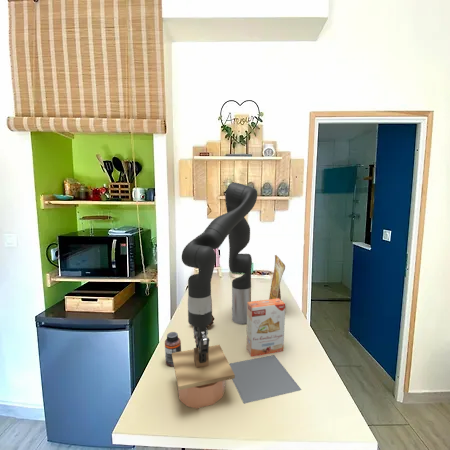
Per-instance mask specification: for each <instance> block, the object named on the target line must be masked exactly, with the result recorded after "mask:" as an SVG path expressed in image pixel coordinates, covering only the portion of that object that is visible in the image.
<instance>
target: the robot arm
mask: <svg viewBox="0 0 450 450" xmlns="http://www.w3.org/2000/svg"><path fill="white" fill-rule="evenodd" d="M224 197H225V198H224V201H225V208H226V213H223V214H221V215H218V216H217V217H216V218H214V219H213V220H211V222H210V223H209V224H208V226H207V227H206V228H205V230H204V231H203V232H202V233H200V234H199V235H197V236H196V237H195V238H193V239H192V240H191V241H189V242H188V243H187V244H186V245H185V247H183V250H182V252H181V262H182V263H183V264H184V265H185V266H186V267H189V268H194V269H198V271H199V272H198V273H195V274H191V275H190V276H189V277H188V278H187V279H188V281H187V292H188V293H187V294H188V296H187V317H188V318H187V321H188V324H189V325H190V326H191V327H193V328H192V329H193V339H195V340H194V343H195V348H198V349H199V350H198V352H199V362H200V363H205V362H206V353H208V349H209V346H210V338H209V337H208V335H209V331H208V330H209V329H208V327H209V326H208V325H209V324H210V323H211V322H212V315H213V300H212V299H213V298H212V284H211V283H212V277H213V273H214V269H215V266H216V263H217V254H216V251H215V250H216V249H218V248H220V247H221V246H222V244H223V243H224V241H225V239H226V238H228V246H229V247H228V249H229V252H228V253H229V254H228V268H229V271H230V272H231V273H232V274H242V275H240V276H237V277H236V278H234V279H233V280H232V281H231V320H232V322H233V323H234V324H239V325H244V324H246V325H247V302H251V301H252V268H253V267H252V266H253V265H252V264H253V259H252V255H251V253H250V254H249V253H240V252H242V251H243V250H244V249H245V248H246V247H247V246H248V244H249V243H250V239H251V226H250V224H249V222H248V220H247V219H246V218H245V217H246V216H247V215H248V214H249V213H250V212H251V211H252V210H253V209H254V207H255V205H256V203H257V199H258V190H257V189H256V188H255V187H254V186H253V187H252V186H250V185H246V184H243V183H240V182H230V183H229V184H228V186H227V187H226V190H225V196H224ZM206 326H208V327H207V328H206Z"/></svg>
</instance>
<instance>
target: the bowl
mask: <svg viewBox="0 0 450 450" xmlns="http://www.w3.org/2000/svg"><path fill="white" fill-rule="evenodd" d="M225 391H226V380H225V381H220V382H215V383H210V384H206V385H201V386H196V387H192V388H187V389H182V390H179V389H178V388H177V393H178V398H179V401H180V402H182V404H184V405H185V406H186V407H187V408H193V409H197V410H199V409H200V408H204V407H207V406H213V405H215V404H216V403H217V402H219V401H220V400H221V399H222V398H224V397H223V396H224V394H225Z"/></svg>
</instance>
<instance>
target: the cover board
mask: <svg viewBox="0 0 450 450" xmlns="http://www.w3.org/2000/svg"><path fill="white" fill-rule="evenodd" d="M198 350H199V349H198V348H196V347H193V349H186V350H181V352H175V353H172V359H173V364H174V366H173V367H174V368H173V369H174V373H175V379H176V383H177V384H176V385H177V390H178V389H179V390H182V389H187V388H192V387H196V386H201V385H206V384H210V383H215V382H220V381H225V382H226V381H228V380H232V379H234V378H235V374H234V372H233V370H232V368H231V366H230V363H229V360H228V359H227V357H226V354H225V353H224V351H223V348H222V347H221V345H220V344H216V345H215V344H214V345H209V349H208V353H206V362H205V363H200V362H199V352H198Z"/></svg>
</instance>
